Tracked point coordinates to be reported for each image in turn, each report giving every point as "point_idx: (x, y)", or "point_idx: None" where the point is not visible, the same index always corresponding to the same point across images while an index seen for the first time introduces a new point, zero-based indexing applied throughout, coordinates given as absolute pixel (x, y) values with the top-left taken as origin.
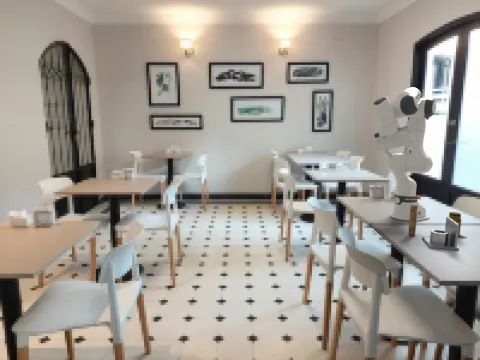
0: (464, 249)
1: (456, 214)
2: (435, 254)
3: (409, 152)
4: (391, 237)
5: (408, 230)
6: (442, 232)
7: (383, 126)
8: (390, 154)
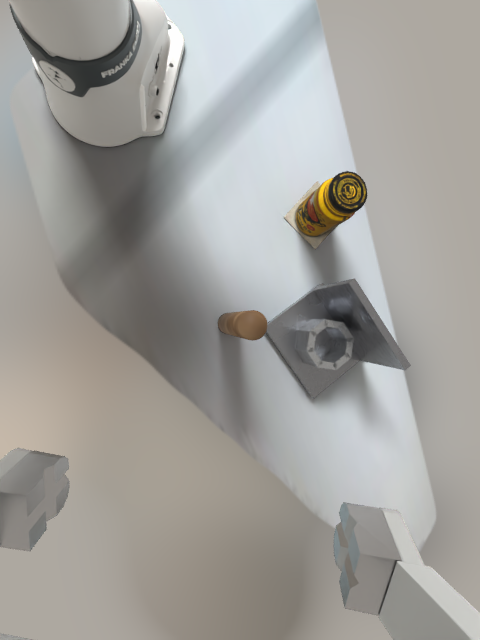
0: None
1: (358, 208)
2: (336, 435)
3: (400, 529)
4: (192, 394)
5: (221, 329)
6: (330, 327)
7: None
8: (33, 533)
